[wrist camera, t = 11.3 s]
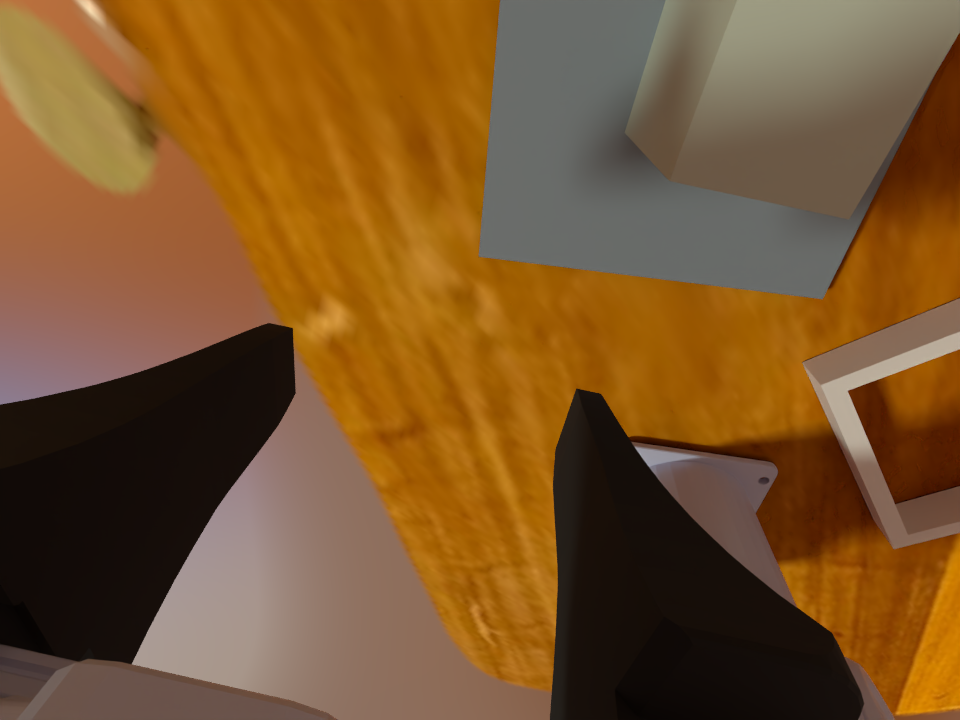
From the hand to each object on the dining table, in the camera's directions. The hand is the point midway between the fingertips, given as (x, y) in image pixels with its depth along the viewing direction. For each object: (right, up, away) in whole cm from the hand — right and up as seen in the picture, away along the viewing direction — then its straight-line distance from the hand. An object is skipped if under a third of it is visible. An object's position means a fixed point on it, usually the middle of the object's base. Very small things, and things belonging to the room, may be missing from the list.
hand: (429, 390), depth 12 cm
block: (+9, +10, +4) cm, 14 cm away
